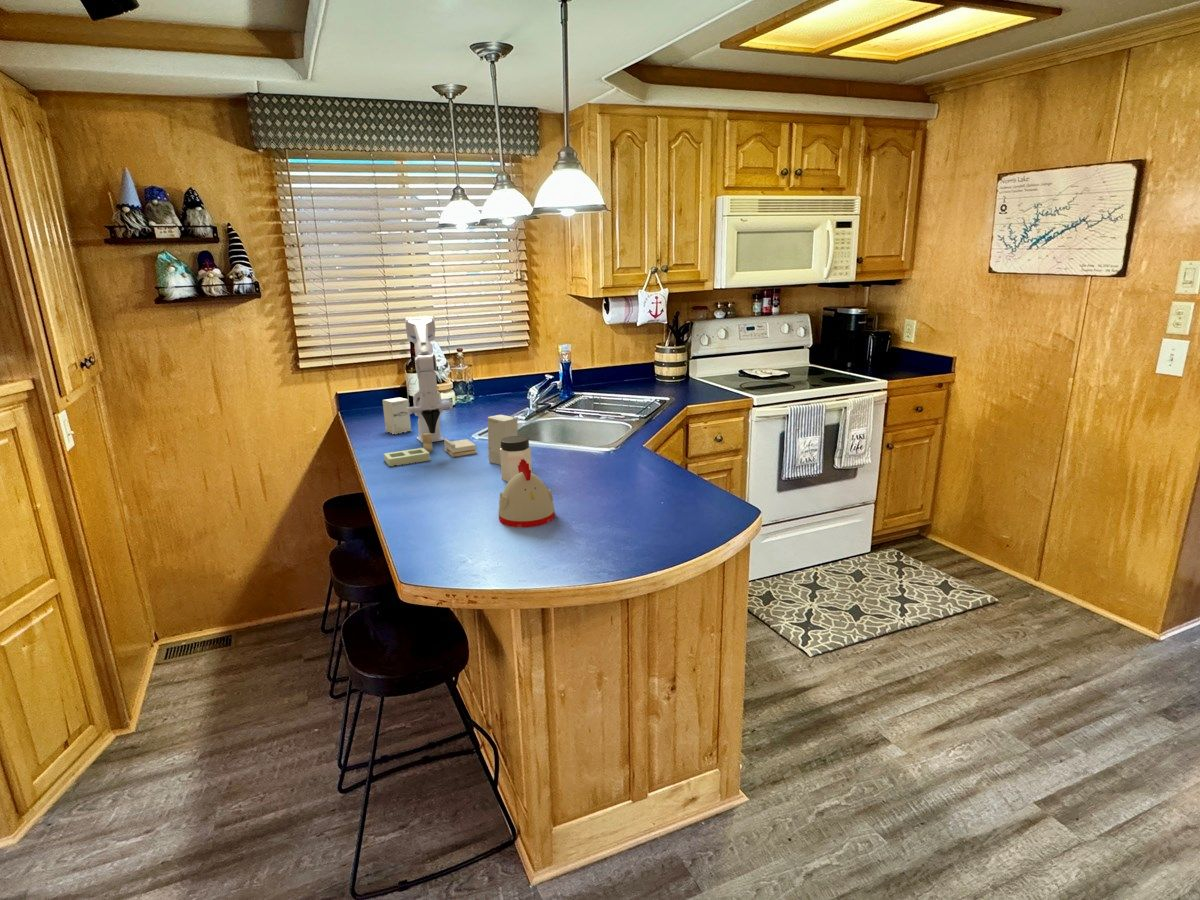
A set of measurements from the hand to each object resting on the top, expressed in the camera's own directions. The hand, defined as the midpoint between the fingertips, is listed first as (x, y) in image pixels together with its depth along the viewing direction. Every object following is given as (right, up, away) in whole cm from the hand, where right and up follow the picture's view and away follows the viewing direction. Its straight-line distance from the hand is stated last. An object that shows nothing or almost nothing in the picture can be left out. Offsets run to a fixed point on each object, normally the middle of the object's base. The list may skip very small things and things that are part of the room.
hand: (432, 432), depth 229 cm
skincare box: (+25, -10, -7) cm, 28 cm away
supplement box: (-22, +1, +37) cm, 43 cm away
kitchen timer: (+37, -23, -54) cm, 70 cm away
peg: (-3, -6, +9) cm, 11 cm away
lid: (+8, -5, +6) cm, 11 cm away
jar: (+31, -14, -24) cm, 41 cm away
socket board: (-8, -9, -2) cm, 12 cm away
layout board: (+8, -6, +6) cm, 12 cm away
